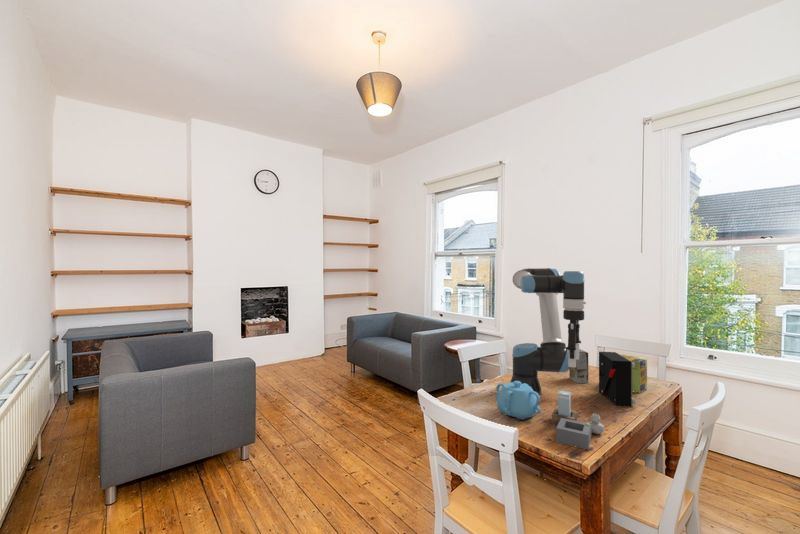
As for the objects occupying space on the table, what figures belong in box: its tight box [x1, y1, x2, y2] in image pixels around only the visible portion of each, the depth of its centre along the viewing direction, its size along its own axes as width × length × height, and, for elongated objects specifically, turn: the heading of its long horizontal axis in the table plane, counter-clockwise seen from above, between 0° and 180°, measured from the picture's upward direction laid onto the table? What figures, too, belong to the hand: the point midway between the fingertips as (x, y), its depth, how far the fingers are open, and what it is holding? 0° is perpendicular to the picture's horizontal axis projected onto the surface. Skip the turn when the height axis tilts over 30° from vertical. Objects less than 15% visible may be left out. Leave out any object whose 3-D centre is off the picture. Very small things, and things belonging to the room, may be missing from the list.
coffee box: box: [568, 348, 589, 384], centre depth 192 cm, size 9×6×16 cm
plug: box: [557, 390, 572, 417], centre depth 139 cm, size 4×4×12 cm
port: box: [555, 418, 592, 450], centre depth 126 cm, size 10×10×5 cm
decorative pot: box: [495, 381, 542, 421], centre depth 148 cm, size 16×16×14 cm
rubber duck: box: [587, 411, 605, 435], centre depth 132 cm, size 5×7×8 cm
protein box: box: [618, 353, 648, 394], centre depth 181 cm, size 10×15×16 cm
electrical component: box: [598, 351, 636, 408], centre depth 165 cm, size 18×10×20 cm, turn 168°
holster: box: [551, 407, 578, 427], centre depth 139 cm, size 8×8×4 cm
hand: (573, 362), depth 141 cm, fingers open, 13 cm apart
